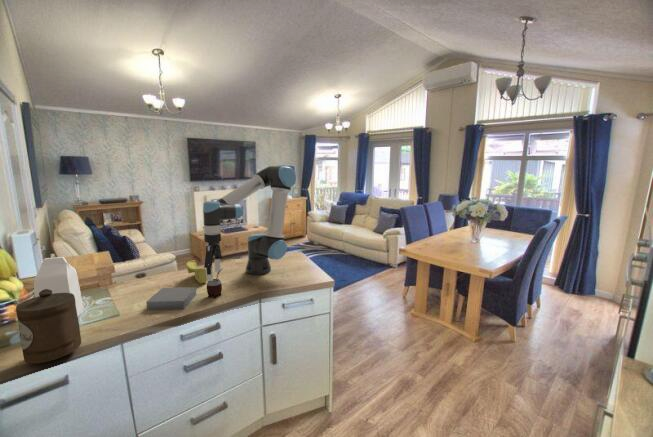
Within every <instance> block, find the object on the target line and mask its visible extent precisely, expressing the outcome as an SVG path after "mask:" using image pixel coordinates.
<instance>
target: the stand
mask: <svg viewBox="0 0 653 437" xmlns="http://www.w3.org/2000/svg"><path fill="white" fill-rule="evenodd" d="M196 296H197V287H196V286H194V287H193V286H191V287H189V286H188V287H187V286H186V287H179V286H178V287H162V288H161V289H160V290H158V291H157V292H156V293H154V295H153V296H151V297H150V298H149V299H148V300H146V310H147V311H157V310H159V311H160V310H161V311H163V310H164V311H165V310H185V309H186V307H188V305H189V304H190V303H191V302H192V301H193V299H195V297H196Z"/></svg>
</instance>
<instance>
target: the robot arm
mask: <svg viewBox="0 0 653 437" xmlns="http://www.w3.org/2000/svg"><path fill="white" fill-rule="evenodd" d="M296 182H297V175H296V171H294V169H293V168H292V167H290V166H285V165H278V166H276V165H272V166H271V165H270V166H268V167H265V168H262V169H261V170H259V171H258V172H256V173H254V174H253V175H252V178H250V179H249V180H247V181H245V182H244V183H242V184H241V185H239V186H238V187H236V188H235V189H233V190H231V191H230V192H229V193H226V195H224V196H222V197H221V198H218V199H217V200H216V201H214V200H213V201H212V200H211V201H204V203H203V207H202V209H203V210H202V212H203V227H202V229H203V233H204V235H203V237H204V238H203V239H204V242H205V243H207V244H208V245H207V246H206V247H205V256H204V257H205V258H204V264H203V265H204V266H203V268H205V269H206V278H207V282H208V281H213V279H214V272H217V273H218V272H219V270H221V269H222V268H221V259H223V256H222V250H221V245H220V242H221V241H222V236H221V235H222V234H221V233H222V228H221V227H222V224H221V221H227V220H237V219H241V217H242V216H243V214H244V213H243V212H244V210H243V208H242V207H243V206H241V205H240V203H241V202H243V201H244V200H246V199H247V198H249V197H250V196H251V195H253V194H254V193H256V192H258V191H259V190H264V189H265V188H267V187H270V190H271V191H272V195H271V203H270V209H269V217H268V225H267V231H266V232H265V233H264V232H262V233H253V234H249V236H248V237H247V255H248V259H247V264H246V266H245V272H246V274H250V275H263V274H268V273H270V272H271V270H272V266H271V263H270V261H269V259H270V260H275V261H276V260H281V259H282V258H283V257H284V256H285V255H286V252H287V250H288V244H287V242H286V241H285V236H284V234H283V230H284V224H285V223H284V222H285V215H286V207H287V202H288V201H287V200H288V193H290V192H291V190H292V189H291V188H292V187H293V186H294V185H296ZM213 262H214V270H213ZM213 271H214V272H213ZM221 271H222V270H221Z"/></svg>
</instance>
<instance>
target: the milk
mask: <svg viewBox="0 0 653 437" xmlns="http://www.w3.org/2000/svg"><path fill="white" fill-rule="evenodd" d="M44 289H49V290H52V294H54V293H72V294H74V297H75V303H76V310H77V316H78V317H79V316H80V315H82V312H83V311H84V310H85V309H84V302H83V297H82V293H81V288H80V283H79V278H78V273H77V270H76V268H75V267H73V266H72V265H71V264H70V263H69V262H68V261H67V260H66V258H65V257H64V256H56V257H46V258H44V259H43V260H42V263H41V265H40V267H39V269H38V272H37V273H36V276H35V277H34V279H33V290H34V298H35V297H38V296H39V292H41V291H42V290H44Z"/></svg>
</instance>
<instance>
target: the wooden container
mask: <svg viewBox="0 0 653 437" xmlns="http://www.w3.org/2000/svg"><path fill="white" fill-rule="evenodd" d="M15 312H16V317H17V324H18V331H19V339H20V344H21V349H22V350H21V351H22V356H23V360H24V362H26V363H29V364H42V363H48V362H51V361H56V360H58V359H61V358H63V357H66V356H67V355H69V354H72V353H73V352H75V351H76V350H77V349H78V348H79V347H80V346H81V345H82V336H81V330H80V323H79V322H80V321H79V316H77V310H76V303H75V297H74V294H72V293H54V294H52V290H49V289H44V290H42V291H41V292H39V296H38V297H35V296H34V297H32V298H29V299H27V300H24V301H22V302H20V303H18V304H17V305H16V306H15Z"/></svg>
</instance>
